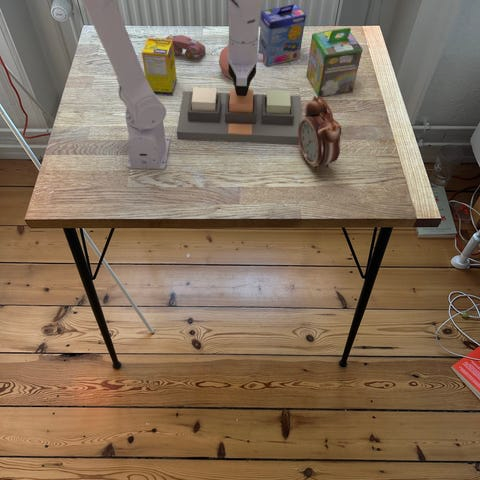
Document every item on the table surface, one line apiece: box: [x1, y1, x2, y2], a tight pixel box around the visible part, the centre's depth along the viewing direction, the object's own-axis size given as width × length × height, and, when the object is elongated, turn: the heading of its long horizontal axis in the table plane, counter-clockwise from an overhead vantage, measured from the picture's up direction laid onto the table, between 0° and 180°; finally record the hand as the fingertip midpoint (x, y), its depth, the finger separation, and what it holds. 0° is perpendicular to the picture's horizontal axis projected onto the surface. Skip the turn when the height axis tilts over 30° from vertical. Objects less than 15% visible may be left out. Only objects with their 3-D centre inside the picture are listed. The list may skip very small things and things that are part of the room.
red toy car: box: [165, 34, 206, 58], centre depth 127 cm, size 10×5×7 cm, turn 73°
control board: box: [176, 90, 303, 145], centre depth 112 cm, size 14×27×4 cm, turn 88°
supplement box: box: [141, 37, 178, 96], centre depth 116 cm, size 6×6×11 cm
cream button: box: [192, 86, 218, 111], centre depth 110 cm, size 5×5×3 cm
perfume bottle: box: [218, 43, 232, 79], centre depth 120 cm, size 8×8×12 cm
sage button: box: [266, 89, 291, 114], centre depth 110 cm, size 5×5×3 cm
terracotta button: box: [229, 88, 254, 113], centre depth 110 cm, size 5×5×3 cm
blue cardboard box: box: [257, 3, 307, 67], centre depth 123 cm, size 10×6×14 cm, turn 115°
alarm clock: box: [298, 95, 342, 173], centre depth 101 cm, size 11×5×15 cm, turn 21°
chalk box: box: [306, 27, 364, 97], centre depth 117 cm, size 9×9×15 cm
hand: (241, 94), depth 108 cm, fingers closed
